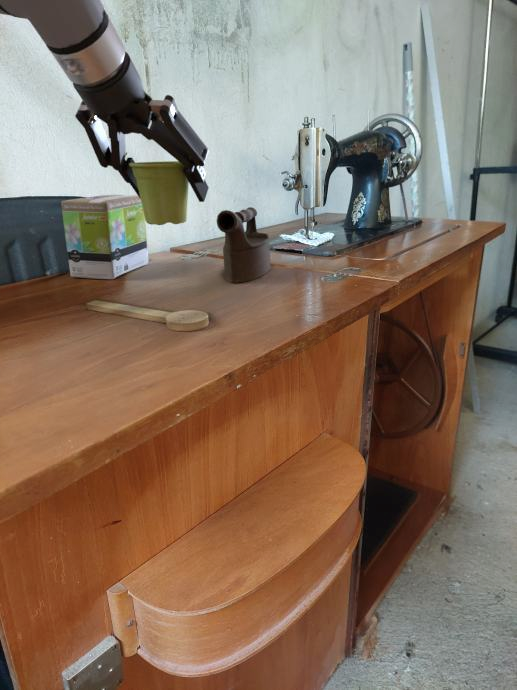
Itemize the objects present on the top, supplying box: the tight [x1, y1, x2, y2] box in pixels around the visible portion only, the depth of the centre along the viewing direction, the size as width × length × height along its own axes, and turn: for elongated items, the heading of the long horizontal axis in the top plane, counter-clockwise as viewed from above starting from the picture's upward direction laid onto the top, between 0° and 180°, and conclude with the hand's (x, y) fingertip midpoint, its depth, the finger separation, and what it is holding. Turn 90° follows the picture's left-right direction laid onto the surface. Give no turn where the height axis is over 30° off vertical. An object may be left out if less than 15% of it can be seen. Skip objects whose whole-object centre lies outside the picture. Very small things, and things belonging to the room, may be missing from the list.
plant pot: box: [129, 160, 190, 226], centre depth 77 cm, size 9×9×9 cm
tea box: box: [60, 194, 149, 280], centre depth 104 cm, size 15×10×15 cm
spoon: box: [85, 299, 210, 332], centre depth 77 cm, size 22×6×1 cm, turn 61°
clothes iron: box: [216, 206, 271, 284], centre depth 97 cm, size 8×16×13 cm, turn 164°
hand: (174, 194), depth 80 cm, fingers closed on plant pot, 9 cm apart
